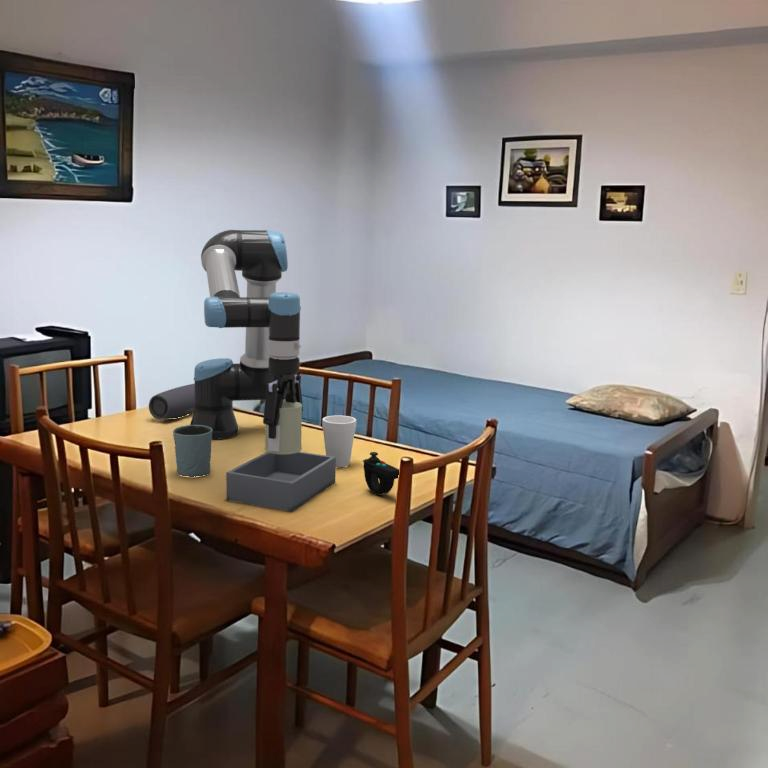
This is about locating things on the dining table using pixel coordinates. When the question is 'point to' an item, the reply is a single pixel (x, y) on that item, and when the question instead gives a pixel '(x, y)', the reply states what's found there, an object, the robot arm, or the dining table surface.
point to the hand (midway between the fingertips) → (283, 445)
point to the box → (280, 480)
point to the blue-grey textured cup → (193, 449)
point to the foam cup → (339, 437)
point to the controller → (379, 474)
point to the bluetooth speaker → (173, 402)
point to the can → (288, 429)
